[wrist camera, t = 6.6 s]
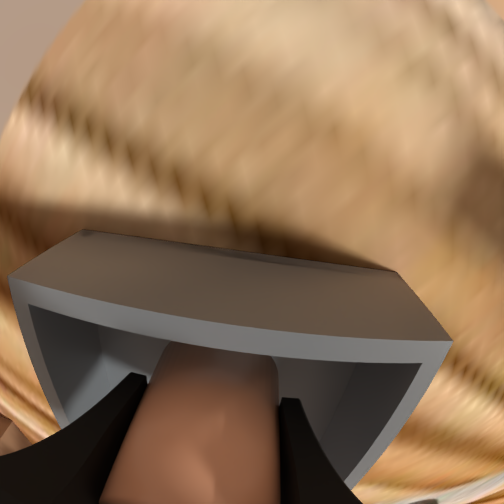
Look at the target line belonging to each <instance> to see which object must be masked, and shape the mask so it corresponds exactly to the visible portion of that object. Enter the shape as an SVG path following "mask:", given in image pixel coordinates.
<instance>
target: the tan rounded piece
mask: <svg viewBox="0 0 504 504" xmlns="http://www.w3.org/2000/svg"><path fill="white" fill-rule="evenodd" d="M99 504H281V489H280V419H279V375H278V369H277V366H276V364H275V361H274V360H273V358H272V357H271V356H269V355H260V354H252V353H244V352H237V351H230V350H223V349H217V348H210V347H204V346H198V345H192V344H187V343H181V342H176V341H170V342H169V343H168V345H167V346H166V347H165V349H164V350H163V352H162V354H161V356H160V358H159V361H158V363H157V365H156V367H155V369H154V372H153V374H152V376H151V378H150V380H149V383H148V385H147V387H146V389H145V392H144V394H143V396H142V398H141V401H140V403H139V405H138V407H137V410H136V412H135V414H134V417H133V419H132V421H131V423H130V426H129V428H128V430H127V433H126V435H125V438H124V440H123V442H122V445H121V447H120V449H119V452H118V454H117V457H116V459H115V462H114V464H113V466H112V469H111V471H110V474H109V476H108V479H107V481H106V484H105V486H104V489H103V492H102V494H101V497H100V499H99Z"/></svg>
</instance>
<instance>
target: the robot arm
mask: <svg viewBox="0 0 504 504" xmlns="http://www.w3.org/2000/svg"><path fill="white" fill-rule="evenodd" d="M147 385H148V383H147V376H146V375H142V374H138V373H134V372H131V373H129V374H128V375H127V376H126V377H125V378H124V379H123V380H122V381H121V382H120V383H119V384H118V385H117V386H116V387H114V388H113V389H112V390H111V391H110V392H109V393H108V394H107V395H106V396H105V397H103V398H102V399H101V400H100V401H99V402H98V403H97V404H95V405H94V406H93V407H92V408H91V409H89V410H88V411H87V412H85V413H84V414H83V415H82V416H80V417H79V418H78V419H76V420H75V421H74V422H72V423H71V424H69V425H68V426H66V427H65V428H63V429H61V430H60V431H58V432H56V433H55V434H53V435H51V436H49V437H47V438H45V439H44V440H42V441H40V442H38V443H35V444H33V445H31V446H28V447H26V448H23V449H21V450H18V451H15V452H12V453H9V454H6V455H2V456H0V504H99V499H100V497H101V494H102V492H103V489H104V486H105V484H106V481H107V479H108V476H109V474H110V471H111V469H112V466H113V464H114V462H115V459H116V457H117V454H118V452H119V449H120V447H121V445H122V442H123V440H124V438H125V435H126V433H127V430H128V428H129V426H130V423H131V421H132V419H133V417H134V414H135V412H136V410H137V407H138V405H139V403H140V401H141V398H142V396H143V394H144V392H145V389H146V387H147ZM279 419H280V489H281V504H363V503H362V502H361V501H360V500H359V499H358V498H357V497H356V496H355V495H354V494H353V492H352V491H351V490H350V489H349V488H348V486H347V485H346V484H345V483H344V481H343V480H342V479H341V477H340V476H339V474H338V473H337V472H336V470H335V469H334V467H333V465H332V464H331V462H330V461H329V459H328V457H327V456H326V454H325V452H324V451H323V449H322V447H321V445H320V443H319V441H318V439H317V437H316V436H315V433H314V431H313V429H312V427H311V425H310V423H309V420H308V418H307V416H306V413H305V411H304V408H303V406H302V403H301V400H300V399H299V398H287V397H282V399H281V402H280V406H279Z"/></svg>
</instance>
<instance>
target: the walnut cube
mask: <svg viewBox="0 0 504 504" xmlns="http://www.w3.org/2000/svg"><path fill="white" fill-rule="evenodd" d="M31 445H32V444H31V443H30V442H29V440H28V439H27V438H26V437H25V436H24V434H23V433H22V432H21V431H20V430H19V428H18V427H17V426H16V425H15V423H14V422H13V421H12V420H9V419H7V418H4V417H2V416H0V456H2V455H6V454H9V453H12V452H15V451H18V450H21V449H23V448H26V447H28V446H31Z"/></svg>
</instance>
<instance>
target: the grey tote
mask: <svg viewBox="0 0 504 504" xmlns="http://www.w3.org/2000/svg"><path fill="white" fill-rule="evenodd" d="M7 277H8V282H9V287H10V291H11V296H12V300H13V304H14V308H15V311H16V315H17V319H18V322H19V326H20V329H21V332H22V335H23V339H24V342H25V345H26V348H27V351H28V353H29V356H30V359H31V362H32V365H33V367H34V370H35V372H36V375H37V377H38V380H39V382H40V385H41V387H42V389H43V392H44V394H45V396H46V399H47V401H48V403H49V405H50V407H51V409H52V411H53V413H54V416H55V418H56V420H57V422H58V424H59V425H60V427H61V429H63V428H65V427H66V426H68V425H69V424H71V423H72V422H74V421H75V420H76V419H78V418H79V417H80V416H82V415H83V414H84V413H85V412H87V411H88V410H89V409H91V408H92V407H93V406H94V405H95V404H97V403H98V402H99V401H100V400H101V399H102V398H103V397H105V396H106V395H107V394H108V393H109V392H110V391H111V390H112V389H113V388H114V387H116V386H117V385H118V384H119V383H120V382H121V381H122V380H123V379H124V378H125V377H126V376H127V375H128V374H129V373H131V372H134V373H138V374H142V375H146V376H147V383H149V380H150V378H151V376H152V374H153V372H154V369H155V367H156V365H157V363H158V361H159V358H160V356H161V354H162V352H163V350H164V349H165V347H166V346H167V345H168V343H169V342H170V341H176V342H181V343H187V344H192V345H198V346H204V347H210V348H217V349H223V350H230V351H237V352H244V353H252V354H260V355H269V356H271V357H272V358H273V360H274V361H275V364H276V366H277V369H278V375H279V406H280V402H281V399H282V397H287V398H299V399H300V400H301V403H302V406H303V408H304V411H305V413H306V416H307V418H308V420H309V423H310V425H311V427H312V429H313V431H314V433H315V436H316V437H317V439H318V441H319V443H320V445H321V447H322V449H323V451H324V452H325V454H326V456H327V457H328V459H329V461H330V462H331V464H332V465H333V467H334V469H335V470H336V472H337V473H338V474H339V476H340V477H341V479H342V480H343V481H344V483H345V484H346V485H347V486H348V488H349V489H350V490H352V489H353V487H354V486H355V485H356V484H357V483H358V482H359V481H360V480H361V479H362V478H363V476H364V475H365V474H366V473H367V472H368V471H369V469H370V468H371V467H372V466H373V465H374V463H375V462H376V461H377V460H378V459H379V457H380V456H381V455H382V454H383V452H384V451H385V450H386V448H387V447H388V446H389V445H390V443H391V442H392V441H393V439H394V438H395V437H396V435H397V434H398V432H399V431H400V430H401V428H402V427H403V425H404V424H405V423H406V421H407V420H408V418H409V417H410V415H411V414H412V412H413V411H414V409H415V408H416V406H417V405H418V403H419V401H420V400H421V398H422V397H423V395H424V393H425V392H426V390H427V389H428V387H429V385H430V383H431V382H432V380H433V378H434V377H435V375H436V373H437V371H438V369H439V368H440V366H441V364H442V362H443V360H444V358H445V356H446V355H447V353H448V351H449V349H450V347H451V345H452V343H453V340H452V339H451V337H450V336H449V335H448V333H447V332H446V331H445V330H444V328H443V327H442V326H441V325H440V323H439V322H438V321H437V319H436V318H435V317H434V316H433V314H432V313H431V312H430V311H429V310H428V308H427V307H426V306H425V305H424V303H423V302H422V301H421V300H420V299H419V297H418V296H417V295H416V294H415V293H414V291H413V290H412V289H411V288H410V287H409V286H408V284H407V283H406V282H405V281H404V280H403V279H402V277H401V276H400V275H399V274H398V273H397V272H392V271H384V270H377V269H369V268H362V267H355V266H347V265H340V264H332V263H325V262H318V261H310V260H303V259H296V258H288V257H281V256H274V255H266V254H259V253H251V252H244V251H237V250H229V249H222V248H215V247H207V246H200V245H193V244H185V243H178V242H171V241H163V240H156V239H149V238H141V237H134V236H127V235H119V234H112V233H105V232H97V231H90V230H83V229H82V230H81V231H79V232H77V233H75V234H74V235H72V236H70V237H68V238H67V239H65V240H63V241H62V242H60V243H58V244H57V245H55V246H53V247H52V248H50V249H48V250H47V251H45V252H43V253H42V254H40V255H39V256H37V257H35V258H34V259H32V260H31V261H29V262H27V263H26V264H24V265H23V266H21V267H20V268H18V269H17V270H15V271H14V272H12V273H11V274H9V275H8V276H7Z"/></svg>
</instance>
